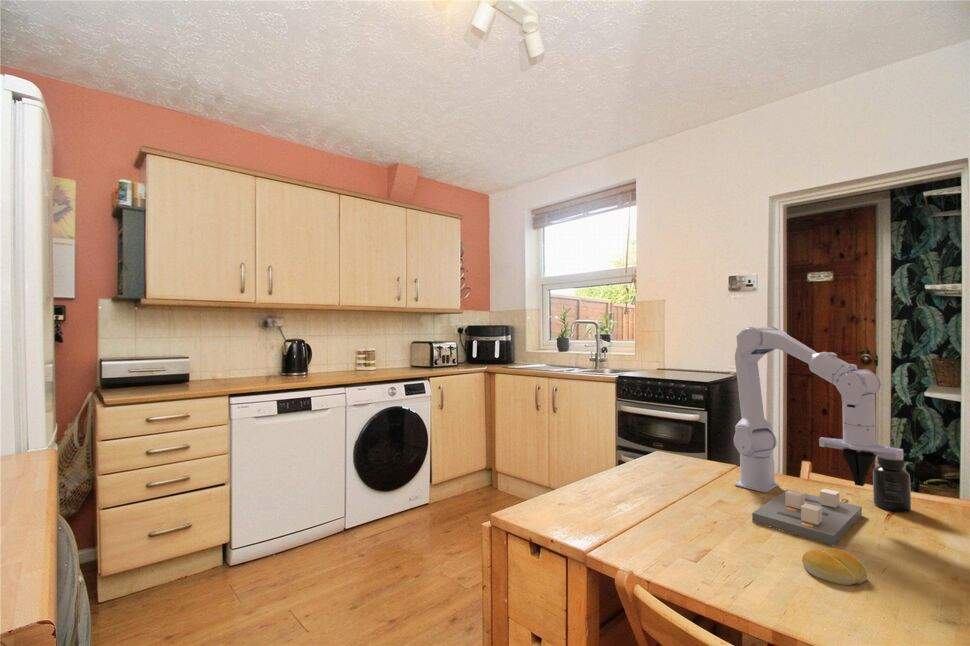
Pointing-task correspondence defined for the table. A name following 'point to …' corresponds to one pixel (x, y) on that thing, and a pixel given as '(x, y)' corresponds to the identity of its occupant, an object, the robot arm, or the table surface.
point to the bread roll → (834, 566)
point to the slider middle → (794, 499)
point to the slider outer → (811, 514)
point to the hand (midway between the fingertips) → (859, 484)
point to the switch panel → (790, 521)
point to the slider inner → (829, 498)
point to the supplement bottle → (891, 485)
